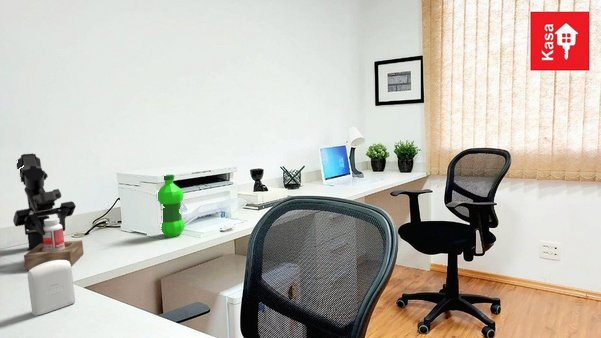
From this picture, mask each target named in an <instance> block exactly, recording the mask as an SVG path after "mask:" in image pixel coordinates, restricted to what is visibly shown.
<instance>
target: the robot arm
mask: <svg viewBox="0 0 601 338" xmlns="http://www.w3.org/2000/svg"><path fill="white" fill-rule="evenodd" d="M17 160H18V163H17V164H16V170H17V169H19V168H20V167H22V166H23V165H24V167H23V168H21V169H20V173H19V178H20V177H21V178H20V182H21V183H23V185H24V186H25V187H24V193H25V194H26V195H25V196H26V198H27V205H28V208H24V209H18V210H16V211H15V213H14V216H13V218H12V222H13V224H14V226H15V227H20V226H23V228H24V234H25V236H27V242H28V248H27V249H26V250H27V251H31V250H32V249H34V248H35V247H36V246H38V245H39V244H43V243H44V242H43V235H45V232H44V229H43V227H44V226H45V225H44V220H45V219H49V218H51V217H50V216H52V215H56V216H57V217H56V218H59V220H60V222H59V224H61V225H62V227H63V232H65V231H66V218H67V217H71V216H73V214H74V212H75V209H76V204H75V202H74V201H72V200H71V201H66V202H61V203H60V205H59V206H58V207H55V205H56V203H55V202H56V201H57V200H59V199H61V198H62V193H61V191H60V189H59V188H56V189H53V190H51V191H46V189H45V188H44V186H45V181H46V180H47V178H48V174H47V172H46V171H45V170H43V168H42V163H41V159H40V158H39V157H37V154H36V153H22V154H21V155H20V157H19V158H18V159H17ZM54 207H55V208H54Z"/></svg>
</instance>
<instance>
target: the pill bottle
mask: <svg viewBox="0 0 601 338" xmlns="http://www.w3.org/2000/svg"><path fill="white" fill-rule="evenodd" d="M59 222H60V220H59V218H57V217H50V218H49V219H45V220H44V225H45V226H44V227H43V229H44V232H45V235H43V242H44V250H45V252H47V251H59V250H63V249H64V248H65V244H64V242H65V237H64V236H65V235H64V231H63V227H62V225H61V224H59Z"/></svg>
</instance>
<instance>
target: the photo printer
mask: <svg viewBox="0 0 601 338" xmlns="http://www.w3.org/2000/svg"><path fill="white" fill-rule="evenodd" d="M72 269H73V268H72V267H71V264H70V262H69V261H67V260H54V261H49V262H46V263H43V264H40V265H38V266H36V267H34V268H32V269H30V270H29V271H27V281H28V282H27V283H28V291H29V299H30V307H31V313H32V315H33V316H41V315H43V314H46V313H51V312H53V311H55V310H59V309H61V308H64V307H66V306H69V305H72V304H75V303H76V294H75V286H74V278H73V277H74V276H73V270H72Z"/></svg>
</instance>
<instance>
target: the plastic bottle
mask: <svg viewBox="0 0 601 338" xmlns="http://www.w3.org/2000/svg"><path fill="white" fill-rule="evenodd" d="M165 175H166V176H164V175H163V176H164V180H163V181H164V184H163V185H162V186H160V188H159V189H160V190H159V189H158V190H159V192H158V200H157V202H158V201H159V202H158V203H160V205H161V204H163V206H164V207H165V208H163V223H162V227H161V228H162V229H160V231H161V230H162V231H161V233H162V232H163V233H164V235H165V236H166V237H167V238H171V237H172V238H174V237H177V236H178V237H179V236H180V234H182V232H183V231H184V229H185V227H186V226H185V225H186V224H185V222H184V220H183V219H182V213H181V214H180V213H179V209H180V207H181V208H182V205H181V204H182V203H181V202H182V201H183V200H184V192H183V189H182V188H180V187H179V186H177V185H176V184H175V183H174V180H175V174H165ZM163 233H162V234H163Z"/></svg>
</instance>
